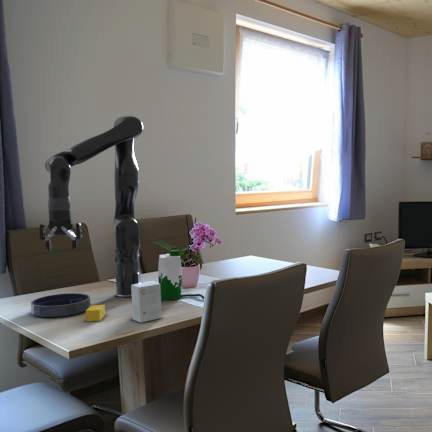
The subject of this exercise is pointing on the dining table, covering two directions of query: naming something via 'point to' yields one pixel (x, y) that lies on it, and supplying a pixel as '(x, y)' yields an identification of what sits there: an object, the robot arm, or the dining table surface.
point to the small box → (146, 301)
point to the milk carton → (170, 275)
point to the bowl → (60, 305)
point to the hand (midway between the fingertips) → (62, 250)
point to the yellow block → (95, 312)
